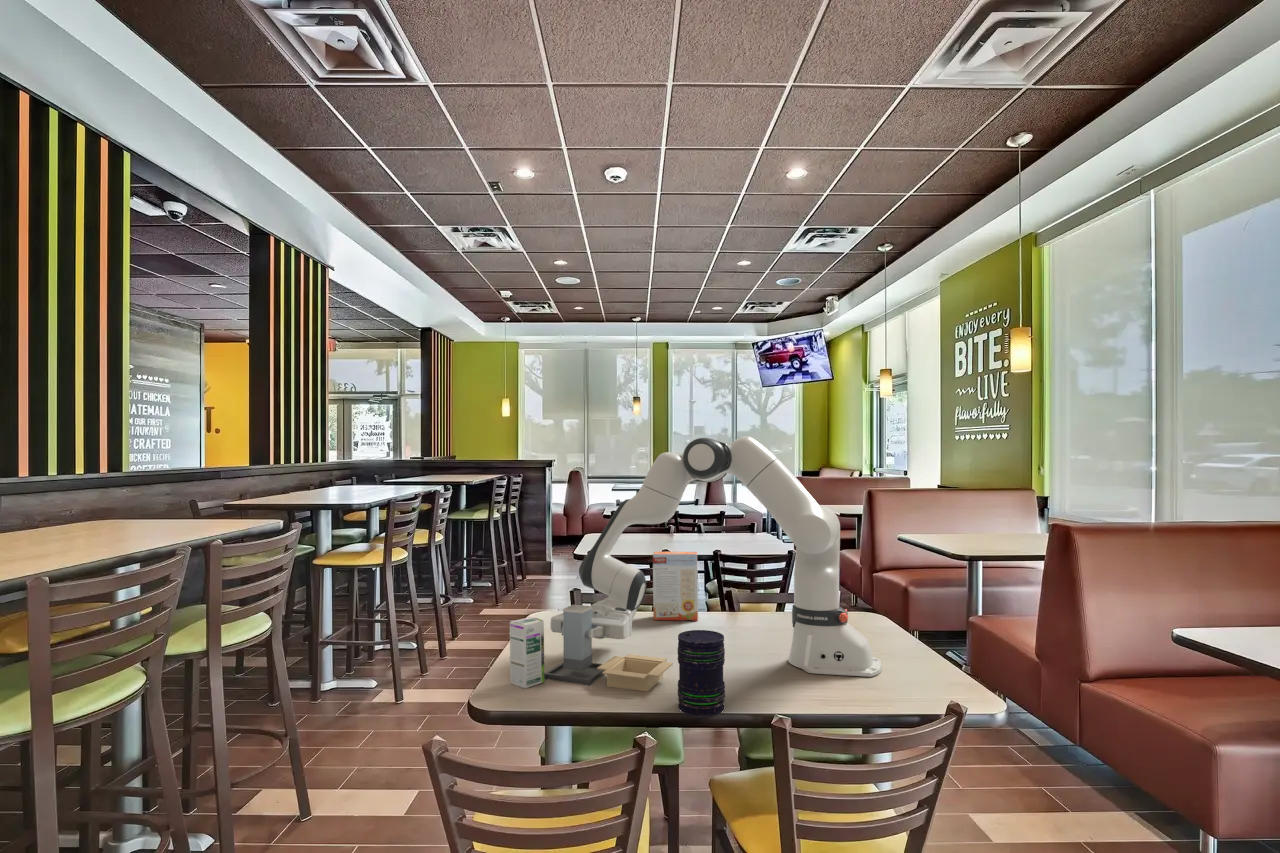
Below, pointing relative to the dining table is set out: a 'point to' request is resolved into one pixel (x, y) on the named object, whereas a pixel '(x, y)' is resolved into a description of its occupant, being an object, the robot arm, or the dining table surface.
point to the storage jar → (701, 673)
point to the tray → (575, 674)
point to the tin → (577, 637)
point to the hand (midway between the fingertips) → (576, 633)
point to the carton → (634, 671)
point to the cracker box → (675, 586)
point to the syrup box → (527, 652)
